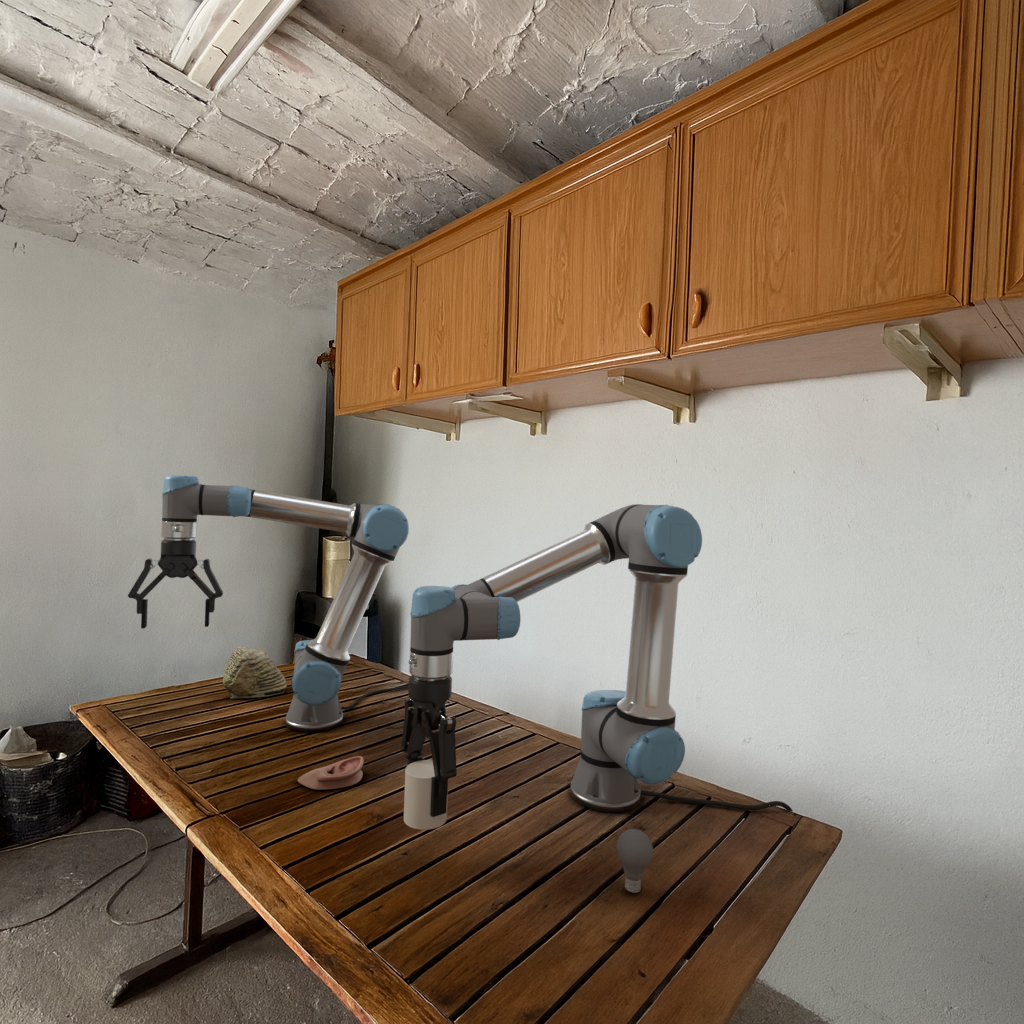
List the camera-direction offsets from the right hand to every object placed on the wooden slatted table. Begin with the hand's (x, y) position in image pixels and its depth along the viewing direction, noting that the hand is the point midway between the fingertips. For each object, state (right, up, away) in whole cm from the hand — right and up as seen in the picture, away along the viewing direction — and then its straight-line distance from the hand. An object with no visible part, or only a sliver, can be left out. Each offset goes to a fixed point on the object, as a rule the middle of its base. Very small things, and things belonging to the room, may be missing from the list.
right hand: (425, 804), depth 111 cm
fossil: (-66, -6, +87) cm, 109 cm away
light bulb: (+35, -12, -6) cm, 38 cm away
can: (0, -3, 0) cm, 3 cm away
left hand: (-66, +24, +42) cm, 82 cm away
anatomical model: (-26, -9, +31) cm, 41 cm away
